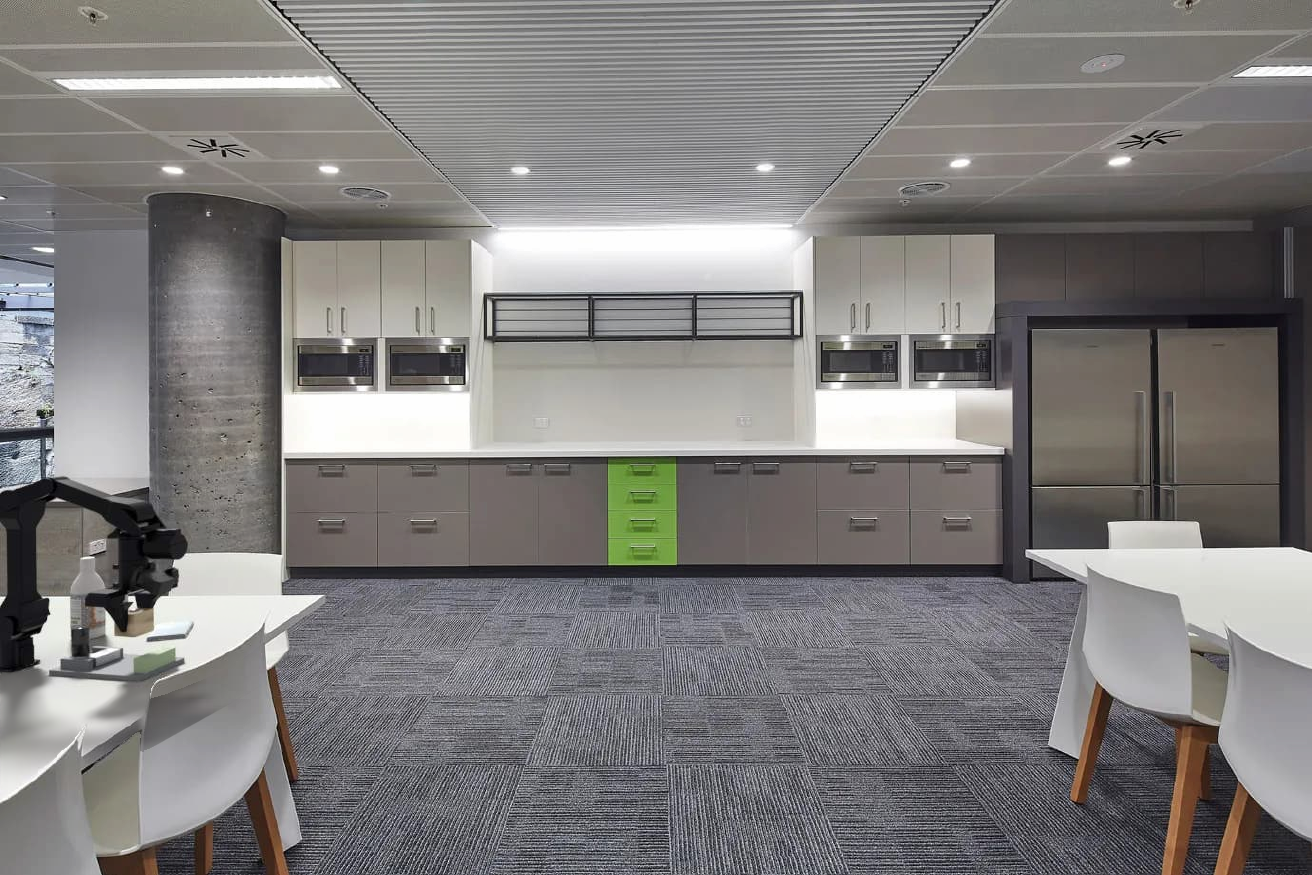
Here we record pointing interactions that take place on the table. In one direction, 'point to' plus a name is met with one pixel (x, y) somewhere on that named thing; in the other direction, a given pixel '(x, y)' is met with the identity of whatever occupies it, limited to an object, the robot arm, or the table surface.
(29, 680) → the table surface
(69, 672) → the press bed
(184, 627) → the hard drive
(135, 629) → the housing
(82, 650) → the ram
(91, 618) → the bath foam
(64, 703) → the table surface
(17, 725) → the table surface
